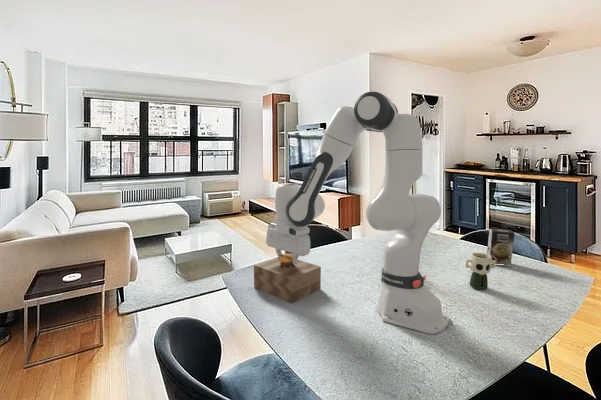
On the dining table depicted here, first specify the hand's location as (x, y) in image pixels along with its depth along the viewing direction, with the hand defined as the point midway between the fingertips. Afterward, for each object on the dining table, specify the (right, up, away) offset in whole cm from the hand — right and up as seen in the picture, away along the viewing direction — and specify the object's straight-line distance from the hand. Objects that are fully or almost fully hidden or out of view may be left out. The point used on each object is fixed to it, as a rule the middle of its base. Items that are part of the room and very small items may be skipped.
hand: (287, 261), depth 129 cm
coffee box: (+98, -7, +30) cm, 102 cm away
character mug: (+74, -11, +3) cm, 75 cm away
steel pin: (0, -9, +2) cm, 9 cm away
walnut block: (0, -10, +2) cm, 11 cm away
